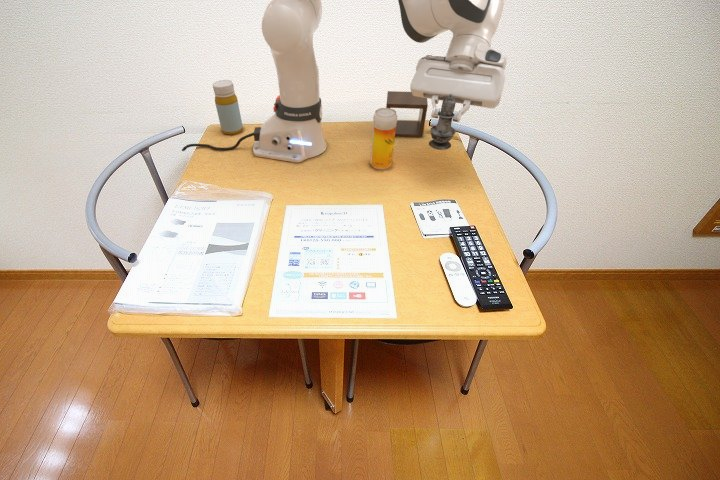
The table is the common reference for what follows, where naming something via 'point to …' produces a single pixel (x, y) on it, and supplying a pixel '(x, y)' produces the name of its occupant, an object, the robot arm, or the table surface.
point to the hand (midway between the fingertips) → (445, 119)
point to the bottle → (227, 107)
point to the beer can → (383, 138)
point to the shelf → (413, 102)
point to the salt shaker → (443, 126)
